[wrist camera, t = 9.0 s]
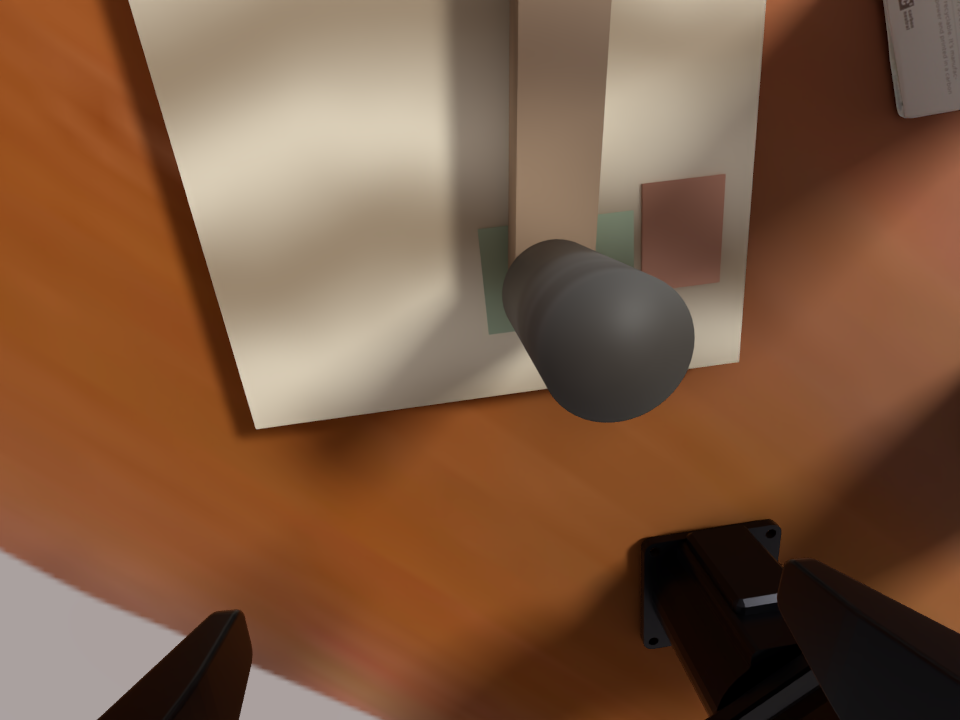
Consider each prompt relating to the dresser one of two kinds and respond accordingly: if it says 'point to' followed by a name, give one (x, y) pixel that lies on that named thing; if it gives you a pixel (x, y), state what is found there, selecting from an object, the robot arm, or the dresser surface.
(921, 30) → the skincare box
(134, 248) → the dresser surface
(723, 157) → the board
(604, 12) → the lever
